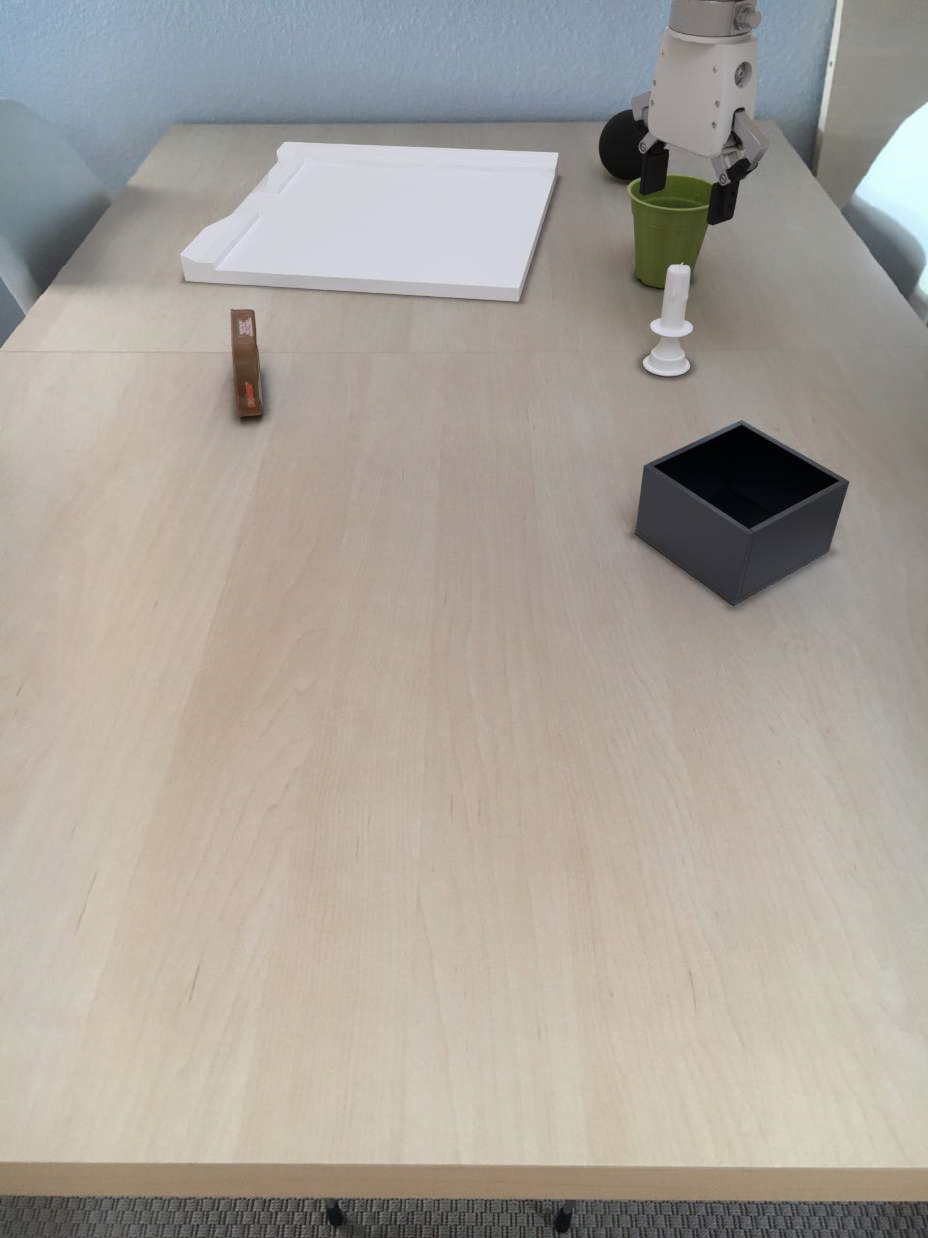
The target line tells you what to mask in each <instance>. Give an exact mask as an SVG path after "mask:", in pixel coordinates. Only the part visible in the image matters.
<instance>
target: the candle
mask: <svg viewBox="0 0 928 1238" xmlns="http://www.w3.org/2000/svg"><path fill="white" fill-rule="evenodd" d="M682 264H683V262H682V263H681V265H671V266H670V267H669V268H668V271H667V276H666V283H665V288H664V291H663V300H662V307H661V315H660V317H658V318H656V319H654V320H652V321H651V322H650V325H649V327H650V330H651V331H652V332H653V333H655V334H657V335H658V336H661V339H660V340H659V341H658V344H657V345H656V346H655V347H653V348H652V349H651V351H650V353H649V354H648V355H647V356H645V357H644V359H643V361H642V366H643V368H644V369H645V370H646V371H647V372H649V373H651V374H653V375H657V376H661V377H677V376H682V375H684V374H685V373H687V372H688V371H689V370H690V368H691V363H690V361H689V360H688V359H687V358H686V353H685V350H684V349H682V347H681V344H680V341H679V339H680V338H682V337H686V336H687V335H688V336H689V335H690V334H691V333H692V332H693V330H694V327H693V324H692V323H691V322H689V321H688V320H686V319H685V316H686V310H687V303H688V300H689V291H690V286H691V285H690V284H691V283H690V281H691V279H690V267H689V266H688V265H682Z"/></svg>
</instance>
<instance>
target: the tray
mask: <svg viewBox="0 0 928 1238" xmlns="http://www.w3.org/2000/svg"><path fill="white" fill-rule="evenodd" d="M276 159H277V162H276V163H275V164H274V165H273V167H271V169H270V170H269V171H267V172H266V174H265V176H263V178H262V179H260V181H259V183H258V184H257V185H256V186H255V187H254V189H252V191H251V192H250V193H249V194H248V195H247V196H246V197H245V198H244V199H243V201H241V203H240V204H239V205H238V206H237V207H236V209H234V211H233V212H232V213H230V215H228V216H226V217H223V218H221V219H219V220H217V221H216V222H214V223H212V224H210V225H208V226H206V227H204V228H203V229H202V230H201V231H200V232H199V233H198V234H197V235H196V236H195V238H194V239H192V241H191V242H190V243H189V244H188V245H187V246H186V248H184V250H182V251H181V253H180V254H179V257H180V258H179V259H180V263H181V266H182V271H183V276H184V280H185V282H192V283H193V282H195V283H207V284H208V283H209V284H225V285H240V286H241V285H242V286H243V285H244V286H259V287H274V288H287V289H289V288H290V289H291V288H292V289H308V290H323V291H324V290H325V291H340V292H354V293H370V294H371V293H372V294H387V295H388V294H389V295H404V296H420V297H433V298H434V297H437V298H453V299H466V300H467V299H470V300H484V301H501V302H518V303H520V301H521V296H522V293H523V289H524V287H525V283H526V280H527V277H528V274H529V270H530V267H531V264H532V262H533V257H534V254H535V251H536V248H537V244H538V241H539V238H540V235H541V231H542V229H543V225H544V221H545V218H546V216H547V212H548V208H549V206H550V202H551V200H552V197H553V193H554V189H555V187H556V182H557V180H558V176H559V175H558V174H559V152H551V151H530V150H529V151H528V150H527V151H526V150H525V151H524V150H505V149H504V150H502V149H480V148H479V149H476V148H475V149H474V148H454V147H453V148H452V147H451V148H450V147H428V146H426V147H425V146H402V145H401V146H400V145H375V144H353V143H352V144H350V143H325V142H324V143H323V142H303V141H302V142H301V141H296V142H295V141H284V142H283V143H282V144H281V145H280V146H279V147H278V149H277V150H276Z"/></svg>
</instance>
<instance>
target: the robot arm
mask: <svg viewBox="0 0 928 1238" xmlns="http://www.w3.org/2000/svg"><path fill="white" fill-rule="evenodd" d="M757 2H758V0H670V9H669V18H668V25H667V26H665V28H664V31H663V33H662V37H661V40H660V45H659V48H658V51H657V57H656V61H655V65H654V69H653V70H654V71H653V75H652V81H651V88H650V90H648V91H646V92H643V93H642V94H639V95H637V96H635V97H633V98H632V99H631V101H630V103H631V104H630V105H631V109H632V110H633V115H634V120H636V122H635V125H634V128H635V131H636V133H637V135H638V138H639V140H640V143H639V150H640V152H641V153H643V154H644V155H643V160H642V170H641V179H640V188H639V193H640V194H641V195H644V196H645V195H648V194H651V193H655V192H658V191H661V190H663V189H664V188H665V185H666V177H667V174H668V170H669V169H668V168H669V159H670V149H668V148H666V147H667V145H670V146H673V147H676V148H678V149H680V150H683V151H686V152H689V153H691V154H692V155H693V154H694V155H696V156H700V157H701V158H705V159H709V160H710V162H711V164H712V167H713V170H714V173H715V175H716V178H717V181H716V182H713V185H712V189H711V195H710V202H709V208H708V214H707V223H708V224H709V225H710V226H712V227H713V226H716V225H719V224H722V223H725V222H728V221H730V220H732V219H733V217H734V215H735V210H736V205H737V199H738V195H739V194H738V193H739V188H740V183H741V181H743V180H745V179H747V177H748V175H749V174H751V173H752V172H753V171H755V170H756V169H757V168H758V166H759V162H760V161H761V160H762V158H763V157H764V155H765V154H766V153H767V151H768V149H769V147H770V142H769V140H768V139H767V137H766V136H765V135H764V134H763V132H762V131H761V130H760V129H759V127H758V126H757V125H756V123H755V122H754V120H755V112H756V105H757V103H756V102H757V94H758V84H759V83H758V82H759V38H758V36H755V35H752V32H753V30H754V29H755V30H756V28H758V27H759V26H760V23H761V20H762V13H761V12H760V11H757V10H756V9H757V8H756V7H757ZM741 151H744V152H743V155H742V152H741ZM726 158H727V159H728V162H729V164H730V167H729V166H728V163H727V160H726Z"/></svg>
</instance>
